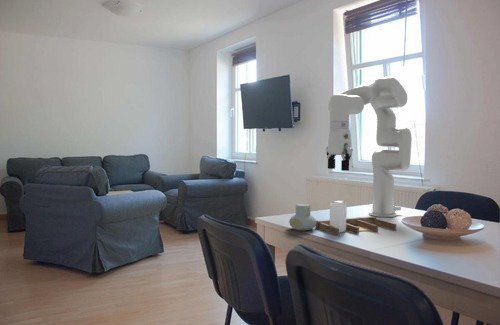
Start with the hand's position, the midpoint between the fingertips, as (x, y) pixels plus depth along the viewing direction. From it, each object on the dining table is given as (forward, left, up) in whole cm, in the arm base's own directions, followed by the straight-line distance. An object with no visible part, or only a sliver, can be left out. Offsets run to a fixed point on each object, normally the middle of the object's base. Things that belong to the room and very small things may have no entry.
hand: (338, 169), depth 160 cm
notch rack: (-9, 0, -25) cm, 26 cm away
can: (0, 0, -25) cm, 25 cm away
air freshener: (+12, -7, -25) cm, 28 cm away
